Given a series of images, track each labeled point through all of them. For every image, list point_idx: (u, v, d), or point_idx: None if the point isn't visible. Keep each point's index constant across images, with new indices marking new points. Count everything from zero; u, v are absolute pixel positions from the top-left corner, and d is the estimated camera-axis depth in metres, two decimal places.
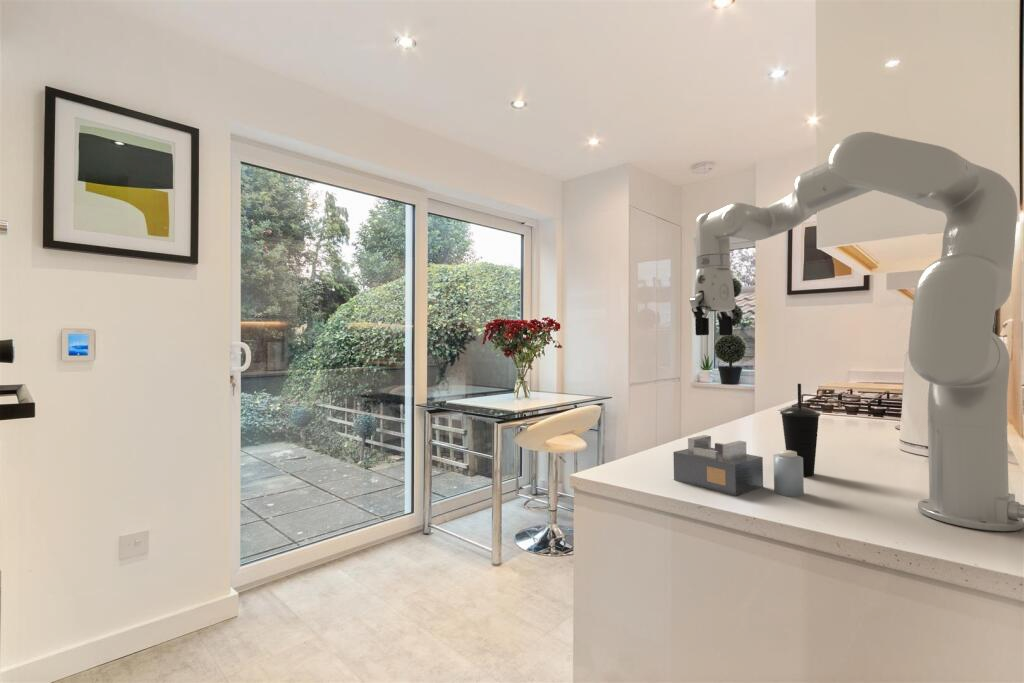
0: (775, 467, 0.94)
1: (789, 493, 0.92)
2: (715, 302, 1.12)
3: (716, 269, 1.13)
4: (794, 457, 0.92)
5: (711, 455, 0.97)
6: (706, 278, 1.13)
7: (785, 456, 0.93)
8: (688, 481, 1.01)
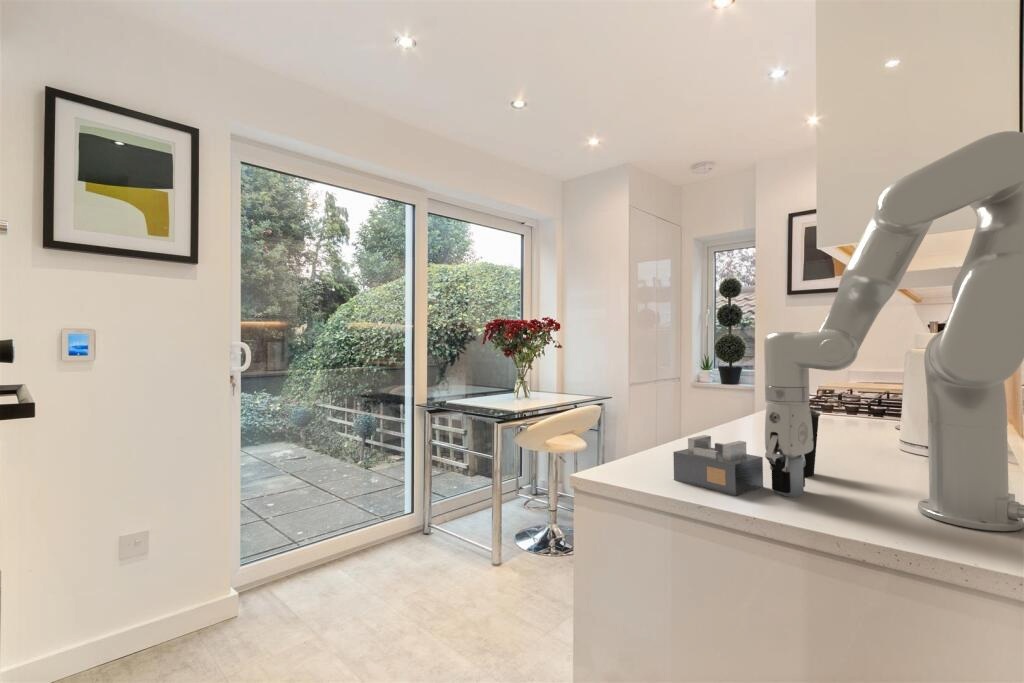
0: None
1: (789, 493, 0.92)
2: (793, 449, 0.90)
3: (794, 406, 0.90)
4: (794, 457, 0.92)
5: (711, 455, 0.97)
6: (781, 418, 0.90)
7: None
8: (688, 481, 1.01)
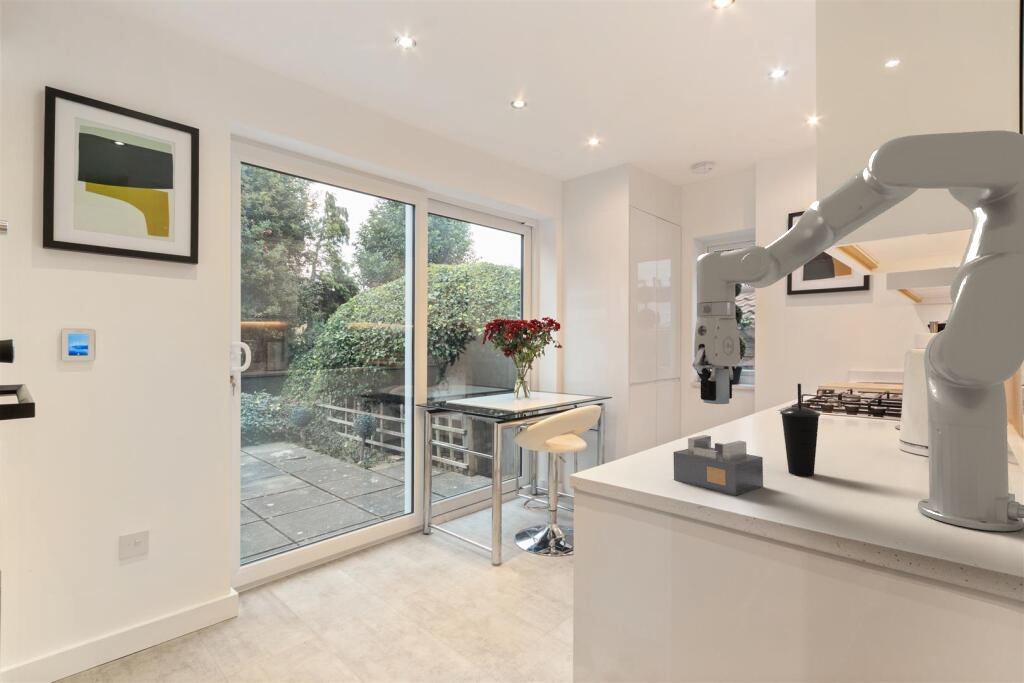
0: None
1: (715, 401, 0.99)
2: (718, 358, 0.97)
3: (719, 319, 0.97)
4: (721, 368, 0.99)
5: (711, 455, 0.97)
6: (708, 330, 0.97)
7: None
8: (688, 481, 1.01)
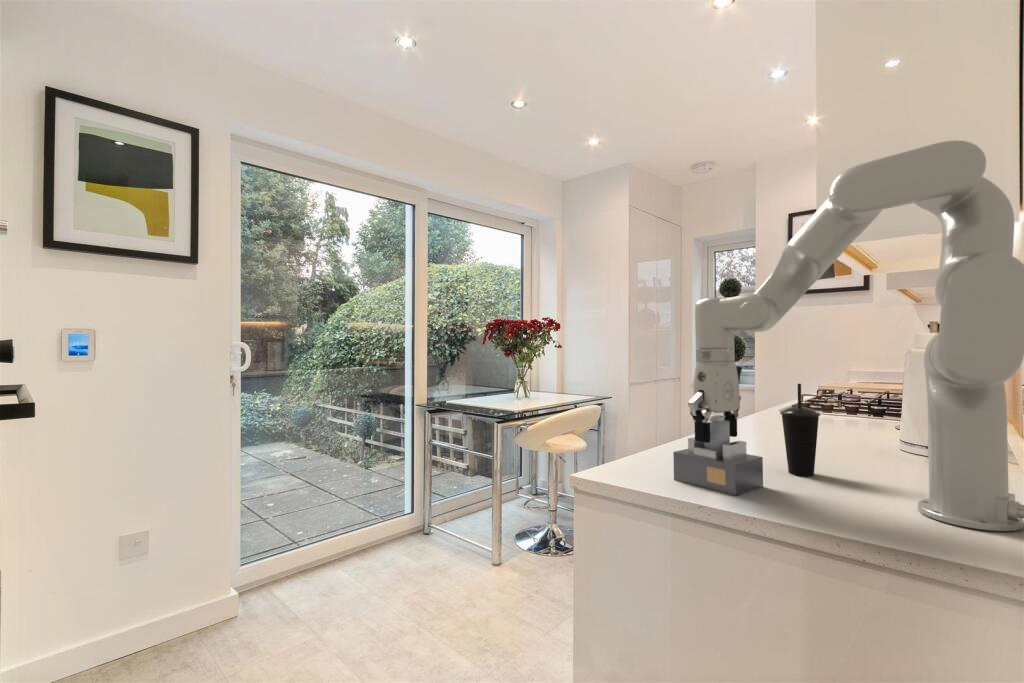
0: None
1: None
2: (717, 405, 0.97)
3: (719, 366, 0.97)
4: (721, 421, 0.99)
5: (711, 455, 0.97)
6: (707, 376, 0.97)
7: (713, 420, 1.00)
8: (688, 481, 1.01)
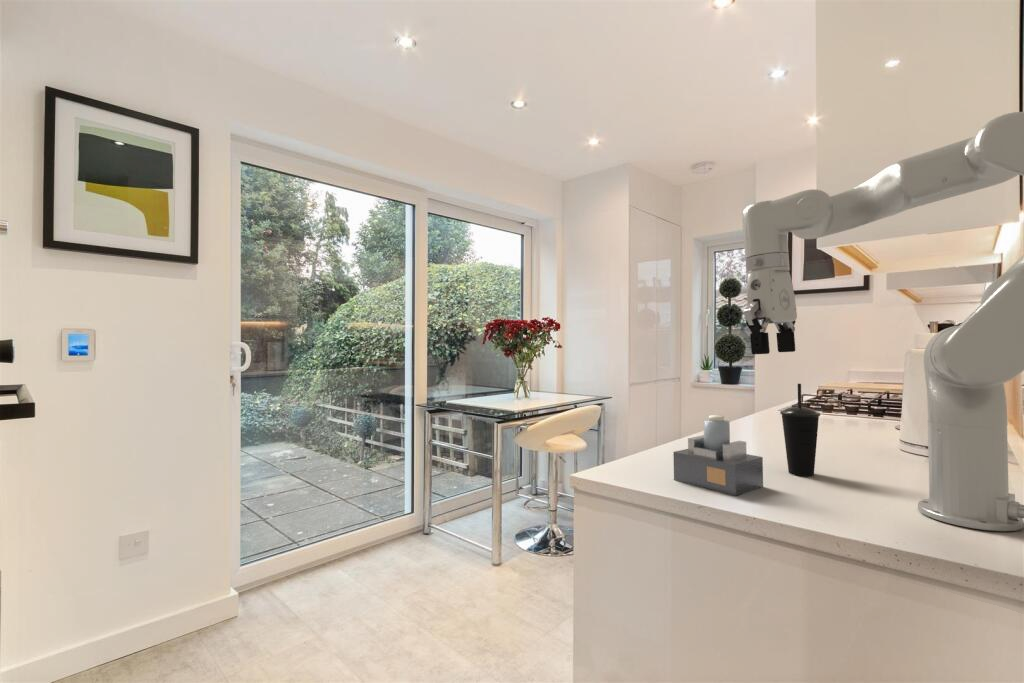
0: (704, 430, 1.01)
1: None
2: (775, 312, 0.90)
3: (774, 271, 0.91)
4: (721, 421, 0.99)
5: (711, 455, 0.97)
6: (762, 283, 0.91)
7: (713, 420, 1.00)
8: (688, 481, 1.01)
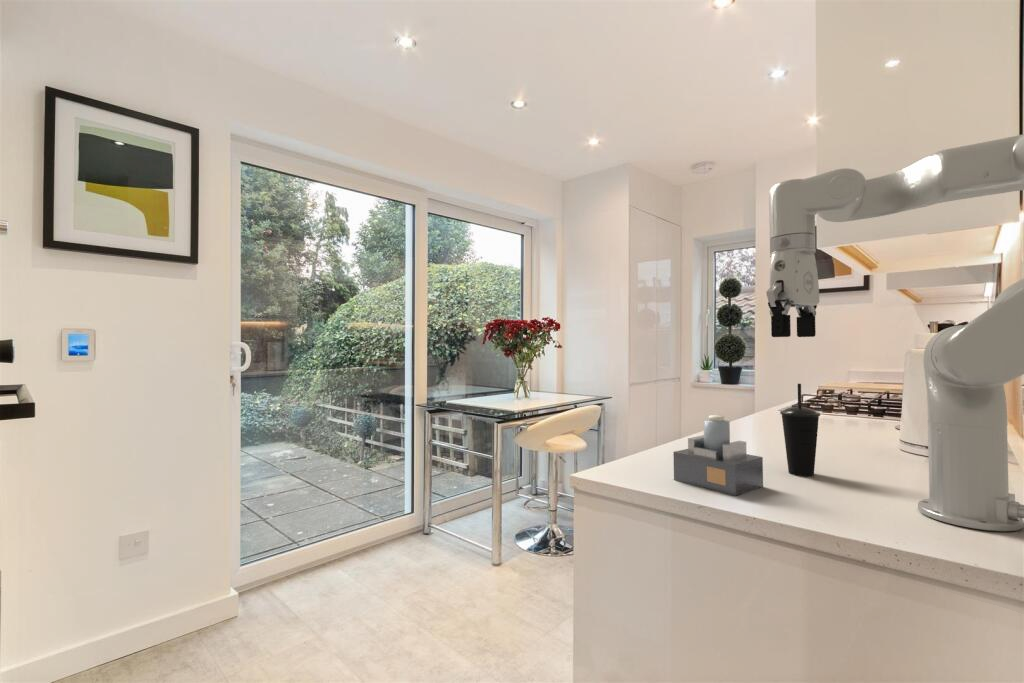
0: (704, 430, 1.01)
1: None
2: (799, 295, 0.88)
3: (799, 252, 0.88)
4: (721, 421, 0.99)
5: (711, 455, 0.97)
6: (787, 264, 0.88)
7: (713, 420, 1.00)
8: (688, 481, 1.01)
